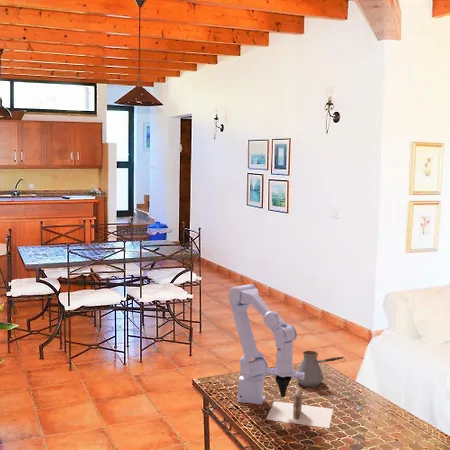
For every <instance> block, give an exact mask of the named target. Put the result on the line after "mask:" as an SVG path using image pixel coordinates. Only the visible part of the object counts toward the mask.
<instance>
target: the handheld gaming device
mask: <svg viewBox="0 0 450 450" xmlns="http://www.w3.org/2000/svg"><path fill="white" fill-rule="evenodd" d="M328 397H331V398H339V397H338V396H336V395H333V394H330V395H328ZM362 409H363V407H362V406H360V405H359V404H355V412H357V411H359V410H362Z"/></svg>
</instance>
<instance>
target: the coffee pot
mask: <svg viewBox="0 0 450 450" xmlns="http://www.w3.org/2000/svg"><path fill="white" fill-rule="evenodd" d="M302 355H303V359H302V361H301V363H300V365H299V367H298V369H297V371H298V372H304V373H305V374H304V380H302V379H300V378H295V379H296V381H297V382H298V383H299V384H300V385H301V386H303V387H307V388H315V387H318V386H319V385H320V384H322V383H323V381H324V379H325V377H324V374H323V372H322V369H321V366H320V364H321V363H327V362H335V361H339V360H340V361H341V362H343V363H344V362H345V361H346V359H345V358H344V356H337V357H330V358H327V359H326V358H325V359H321V360H318V359H317V358H318V356H319V353H318V352H317V351H313V350H305V351H302ZM343 360H344V361H343Z"/></svg>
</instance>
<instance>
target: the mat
mask: <svg viewBox="0 0 450 450" xmlns="http://www.w3.org/2000/svg"><path fill="white" fill-rule="evenodd" d="M293 405H294V403H290V402H283V401H275V400H274V401H273V403H272V405H271V408H270V409H269V412H268V414H267V417H266V418H265V420H268V421H276V422H282V423H288V424H295V425H304V426H311V427H317V428H318V427H319V428H325V429H326V428H327V429H330V427H331V422H332V416H333V412H334V408H329V407H323V406H322V407H320V406H313V405H305V404H302V407H301V414H300V417H299V419H293Z"/></svg>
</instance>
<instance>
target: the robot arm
mask: <svg viewBox="0 0 450 450" xmlns="http://www.w3.org/2000/svg"><path fill="white" fill-rule="evenodd" d="M227 297H228V300H229V305H230V308H231V312H232V315H233V321H234V323H235V326H236V331H237V333H238V337H239V342H240V345H241V349H242V353H243V354H242V356H241V357H240V359H239V368H240V374H241V375H239V378H238V382H237V383H238V384H237V400H236V402H238V403H244V404H246V403H249V404H257V405H263V402H264V401H265V399H266V397H267V396H266V395H264V380H265V379H264V378H266V376H275V382H276V384H277V386H278V389H279V393H280V397H282V398H285V397H286V395H287V394H286V393H287V389H288V386H289V384H290V382H291V379H292V378H293V379H296V378H300V379H302V380H304V374H305V373H304V372H298V370H294V369H293V351H294V341H295V340H296V339H297V335H298V333H297V330H296V328H295V326H294V325H292V324H289V323H286V322H285V321H284V319H283V318H282V317H281V316H280V315H279V313H278V312H277V311H275V310H270V307H268V305H267V303H265V302H264V300H263V298H261V296H260V295H259V289H258V288H257V287H256V286H255V285H254V284H253V283H248V284H245V285H239V286H232V287H230V289H229V292H228V294H227ZM250 306H252V308H254V309H255V310H256V312H258V313H259V314H260V315H261V317H263V323H264V324H265V325H266V327H267V328H268V329H269V330H270V331H271V332H272V334H273V339H274V341H275V347H276V354H275V355H276V359H275V361H276V363H275V368H272V367H271V368H269V363H268V362H267V360H266V358H265V356H264V353H262V352H261V351H260V350H258V348H257V343H256V340H255V336H254V333H253V329H252V325H251V323H250V318H249V315H248V308H249V307H250Z"/></svg>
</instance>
